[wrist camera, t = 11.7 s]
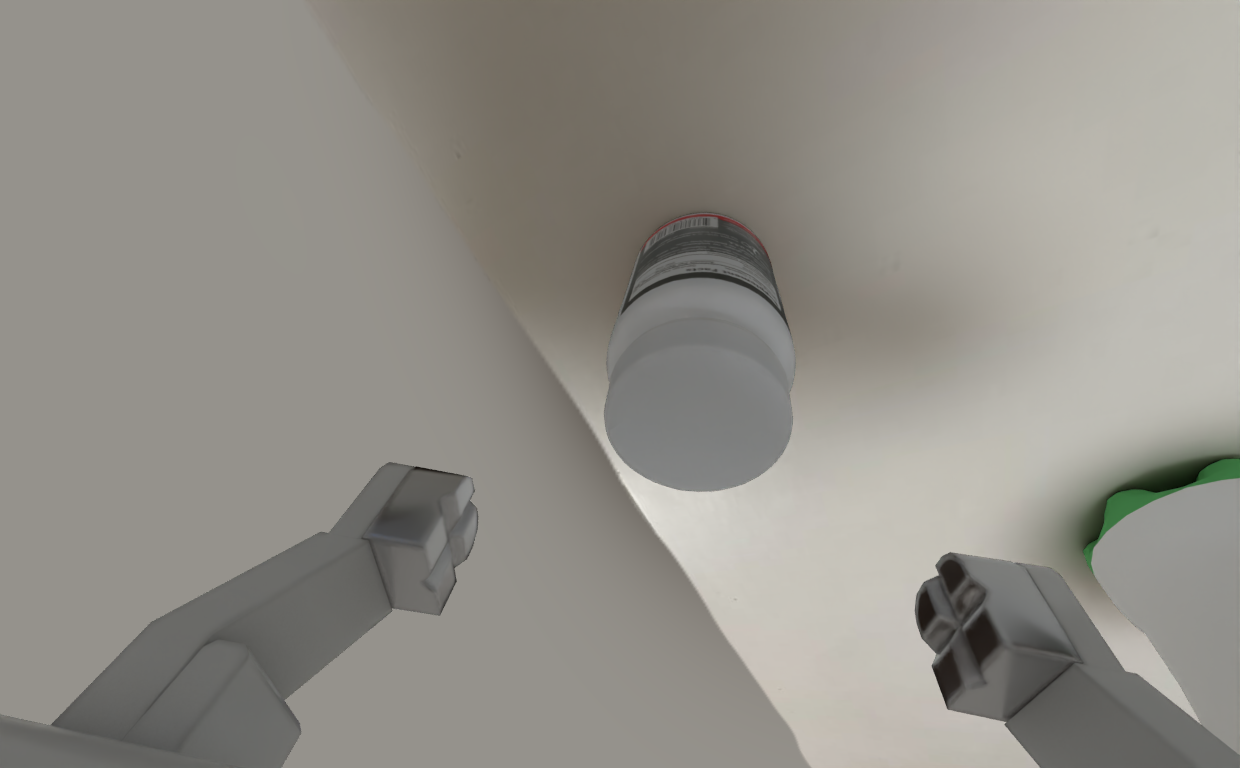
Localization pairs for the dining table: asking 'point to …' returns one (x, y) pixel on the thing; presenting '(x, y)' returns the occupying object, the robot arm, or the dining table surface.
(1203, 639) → the cup
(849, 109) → the dining table surface
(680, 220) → the pill bottle
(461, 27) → the dining table surface
